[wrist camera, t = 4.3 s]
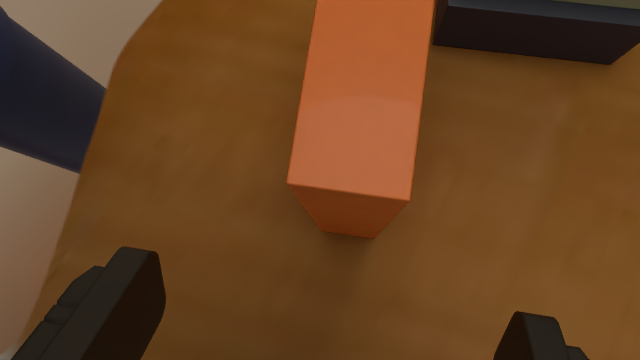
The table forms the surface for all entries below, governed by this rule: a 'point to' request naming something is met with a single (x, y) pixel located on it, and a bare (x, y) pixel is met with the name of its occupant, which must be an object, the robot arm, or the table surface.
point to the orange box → (360, 113)
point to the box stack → (541, 27)
